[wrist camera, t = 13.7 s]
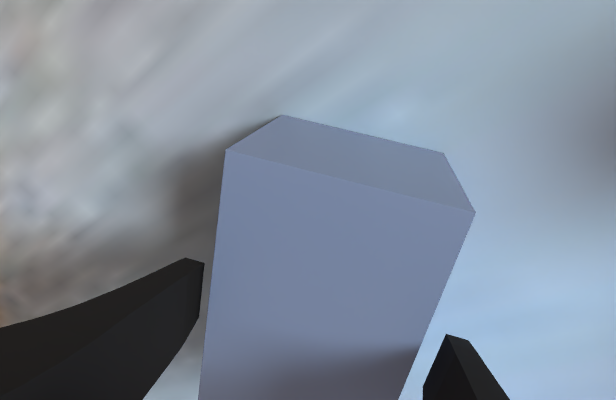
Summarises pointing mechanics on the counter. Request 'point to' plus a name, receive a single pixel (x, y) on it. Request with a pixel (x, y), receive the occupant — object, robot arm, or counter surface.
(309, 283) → the blue-gray rectangular block
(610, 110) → the counter surface
